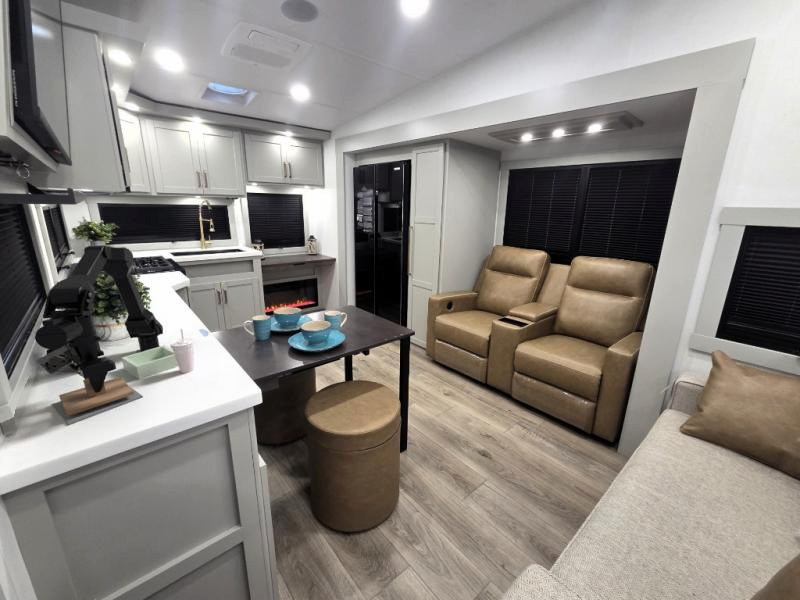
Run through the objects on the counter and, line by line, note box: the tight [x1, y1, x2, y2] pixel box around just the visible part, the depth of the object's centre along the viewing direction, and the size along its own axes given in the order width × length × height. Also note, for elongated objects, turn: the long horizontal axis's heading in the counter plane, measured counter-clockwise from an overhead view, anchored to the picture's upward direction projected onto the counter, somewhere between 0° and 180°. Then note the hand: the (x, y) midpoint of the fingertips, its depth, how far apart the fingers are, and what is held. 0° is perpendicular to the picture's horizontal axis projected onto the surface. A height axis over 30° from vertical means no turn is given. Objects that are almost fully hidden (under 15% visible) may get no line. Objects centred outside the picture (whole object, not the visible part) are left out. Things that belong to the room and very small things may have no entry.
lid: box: [58, 376, 134, 416], centre depth 89 cm, size 13×13×5 cm
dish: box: [121, 345, 179, 380], centre depth 109 cm, size 12×12×4 cm
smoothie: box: [169, 328, 195, 374], centre depth 106 cm, size 6×6×14 cm
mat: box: [51, 385, 144, 426], centre depth 90 cm, size 15×15×1 cm
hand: (95, 389), depth 89 cm, fingers closed on lid, 4 cm apart
